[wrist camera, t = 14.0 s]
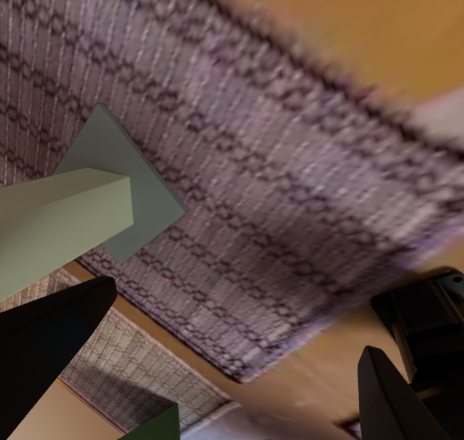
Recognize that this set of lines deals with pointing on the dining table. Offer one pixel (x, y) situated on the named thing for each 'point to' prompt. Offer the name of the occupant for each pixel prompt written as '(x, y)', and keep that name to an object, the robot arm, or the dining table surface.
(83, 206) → the sage block
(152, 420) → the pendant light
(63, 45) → the dining table surface
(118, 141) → the slate mat
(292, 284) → the dining table surface
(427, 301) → the robot arm
